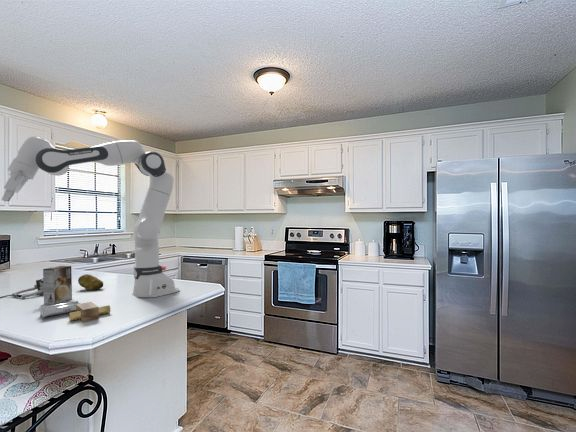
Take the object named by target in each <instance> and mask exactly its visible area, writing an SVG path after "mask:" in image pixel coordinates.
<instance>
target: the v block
mask: <svg viewBox="0 0 576 432" xmlns="http://www.w3.org/2000/svg"><path fill="white" fill-rule="evenodd" d="M76 304H81V302H79V301H78V300H75V301H68V302H61V303H57V304H50V305H46V306H41V307H40V308H39V313H40V314H39V316H40V318H41V319H42V320H43V321H46V320H50V319H55V318H56V319H57V318H60V317H65V316H69V313H71V312H76Z"/></svg>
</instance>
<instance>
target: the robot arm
mask: <svg viewBox="0 0 576 432" xmlns="http://www.w3.org/2000/svg"><path fill="white" fill-rule="evenodd" d="M86 163H97V164H101V165H104V166H121V165H126V164H134V165H135V167H136V168H137V169H138V170H139V172H140V173H141V174H143V175H144V176H146V177H150V184H149V187H148V189H147V191H146V193H145V194H146V195H145V197H144V200H143V203H142V206H141V209H140V213H139V214H138V215H139V216H138V218H137V221H136V223H135V224H134V266H135V267H134V269H133V276H134V284H133V289H132V292H131V293H132V294H131V295H132V296H133V297H136V298H159V297H161V296H166V295H169V294H173V293H174V294H175V293H177V292H179V291H180V288H179V287H177V286H176V285H175V281H174V279H173V278H172V277H171V276H169V275H167V274H166V273H165V272H163V271H166V270H167V267H166V266H161V265H160V250H159V249H160V248H159V233H160V231H161V227H162V224H163V220H164V217H165V214H166V209H167V207H168V204H169V201H170V198H171V195H172V191H173V187H174V176H173V175H172V174H171V173H168V171H167V167H166V164H165V160H164V158H163V156H162V155H161V154H160V153H158V152H156V151H145V150H144V148H143V145H142V144H141V143H140V142H139V141H137V140H129V139H128V140H117V141H112V142H111V141H109V142H106V143H102V144H99V145H94V146H90V147H80V148H73V149H58V148H55V147H54V146H53V145H52V144H51V142H50V141H49V140H47V139H44V138H41V137H38V136H30V137H28V138H27V139H25V141H24V142H23V143H22V145H21V146H20V148H19V150H18V151H17V155H16V157H14V159H12V162H11V163H10V164H9V167H7V171H9V174H8V175H9V178H8V179H7V181H6V183H5V185H4V187H3V188H4V189H5V191H4V192H3V196H2V198H1V201H4V202H10V201H11V199H12V197H14V195H15V194H18V193H19V192H20V191H21V190H22V188H23V187H24V186H25V184H27V182H28V181H29V180H33V179H34V178H35V177H36V174H37V173H38V171H39V169H40V170H42V171H43V172H45V173H47V174H49V175H52V176H58V177H59V176H63V175H65V174H66V173H68V171H69V168H70V166H73V165H80V164H86Z"/></svg>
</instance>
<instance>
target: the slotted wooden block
mask: <svg viewBox="0 0 576 432" xmlns="http://www.w3.org/2000/svg"><path fill="white" fill-rule="evenodd" d="M80 303H81V302H80ZM99 307H100V306H98V305H96V304H95V303H94V302H93V301H89V302H82V303H81V304H76V312H77V311H81V319H79V320H80V321H81V322H82V323H86V322H91V321H97V320H99V318H100V317H99V316H100V315H99Z"/></svg>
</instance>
